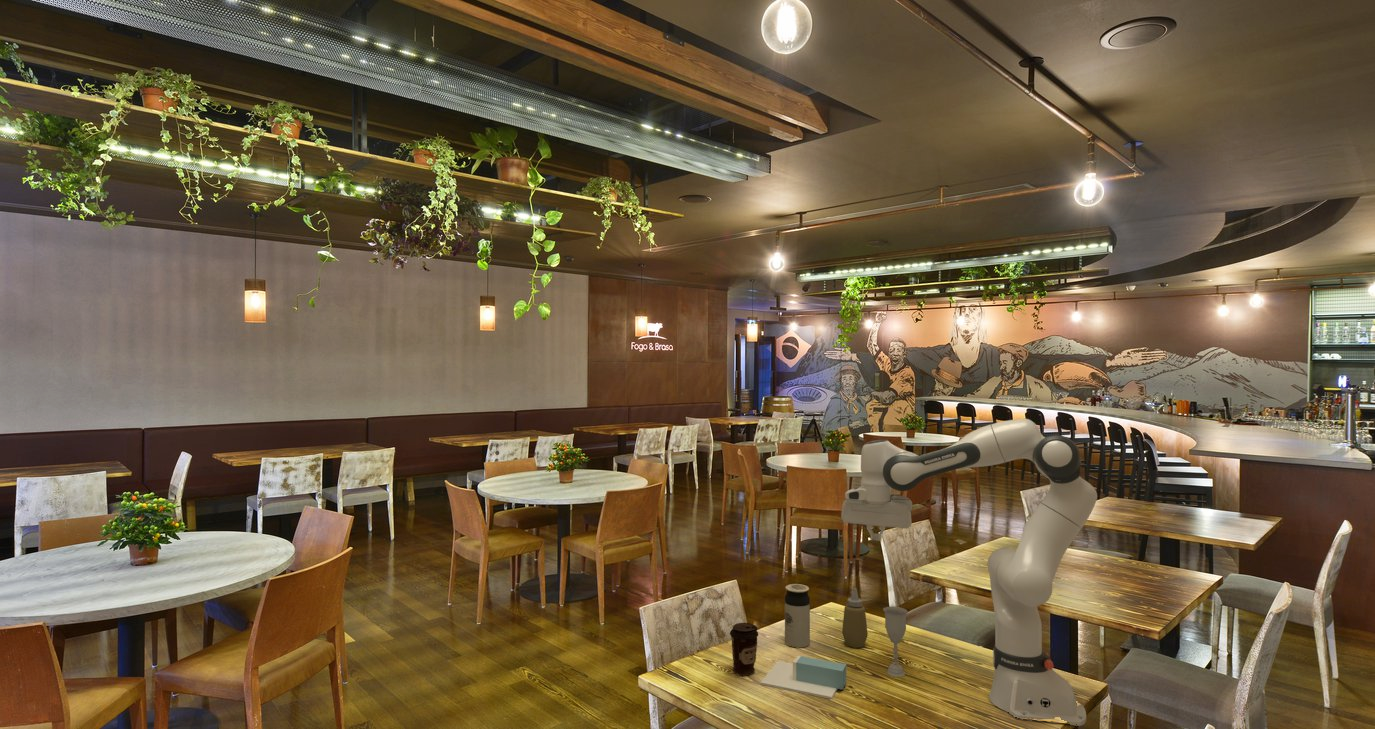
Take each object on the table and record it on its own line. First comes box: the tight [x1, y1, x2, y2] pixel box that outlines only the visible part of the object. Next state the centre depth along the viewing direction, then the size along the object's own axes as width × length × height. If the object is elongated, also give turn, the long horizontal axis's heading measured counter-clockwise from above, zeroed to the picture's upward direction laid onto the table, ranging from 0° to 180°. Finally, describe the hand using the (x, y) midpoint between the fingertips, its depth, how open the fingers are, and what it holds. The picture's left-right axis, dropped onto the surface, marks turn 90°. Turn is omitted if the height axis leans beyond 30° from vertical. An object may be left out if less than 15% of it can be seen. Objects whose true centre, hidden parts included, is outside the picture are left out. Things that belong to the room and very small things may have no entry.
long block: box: [792, 655, 847, 690], centre depth 190 cm, size 5×5×14 cm
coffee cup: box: [729, 622, 759, 676], centre depth 198 cm, size 9×8×13 cm
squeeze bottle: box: [841, 587, 869, 649], centre depth 218 cm, size 8×8×18 cm
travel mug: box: [784, 583, 811, 649], centre depth 219 cm, size 8×8×18 cm
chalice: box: [882, 606, 909, 678], centre depth 197 cm, size 7×7×18 cm
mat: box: [760, 660, 838, 700], centre depth 192 cm, size 20×16×1 cm
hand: (875, 540), depth 203 cm, fingers closed
